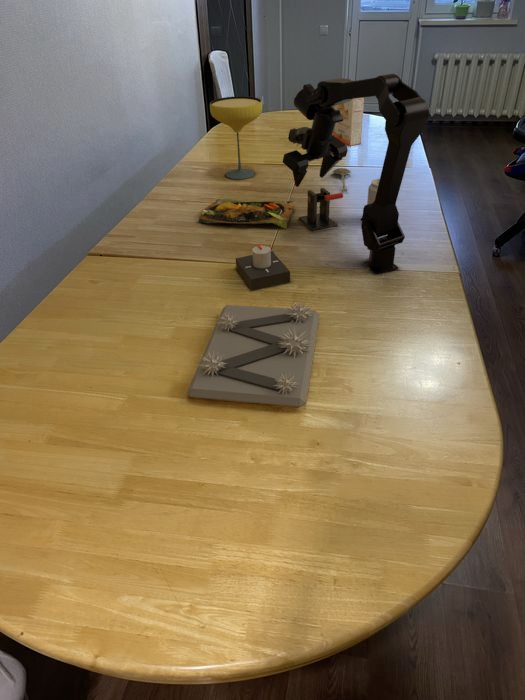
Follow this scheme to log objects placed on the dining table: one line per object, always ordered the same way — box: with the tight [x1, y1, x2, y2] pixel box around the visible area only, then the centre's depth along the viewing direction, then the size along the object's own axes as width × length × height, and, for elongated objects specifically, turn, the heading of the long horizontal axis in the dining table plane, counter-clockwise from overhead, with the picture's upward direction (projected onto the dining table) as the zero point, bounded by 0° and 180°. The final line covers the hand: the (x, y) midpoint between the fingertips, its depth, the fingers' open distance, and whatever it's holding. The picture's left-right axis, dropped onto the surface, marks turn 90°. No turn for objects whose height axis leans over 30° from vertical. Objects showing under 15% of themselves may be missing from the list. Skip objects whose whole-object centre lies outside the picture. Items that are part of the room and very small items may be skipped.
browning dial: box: [252, 244, 272, 269], centre depth 127 cm, size 4×4×4 cm
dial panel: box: [235, 250, 291, 291], centre depth 129 cm, size 12×10×3 cm
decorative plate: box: [186, 300, 320, 408], centre depth 101 cm, size 30×22×7 cm
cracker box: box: [333, 97, 365, 147], centre depth 216 cm, size 14×6×21 cm, turn 25°
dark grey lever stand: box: [298, 187, 339, 232], centre depth 151 cm, size 10×8×10 cm
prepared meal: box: [198, 198, 297, 230], centre depth 159 cm, size 28×4×18 cm
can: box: [366, 178, 380, 205], centre depth 150 cm, size 8×8×12 cm
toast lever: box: [316, 192, 344, 203], centre depth 145 cm, size 12×5×2 cm, turn 20°
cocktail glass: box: [209, 95, 263, 181], centre depth 185 cm, size 18×18×25 cm
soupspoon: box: [332, 167, 352, 193], centre depth 181 cm, size 22×3×7 cm
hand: (308, 181), depth 144 cm, fingers open, 9 cm apart
